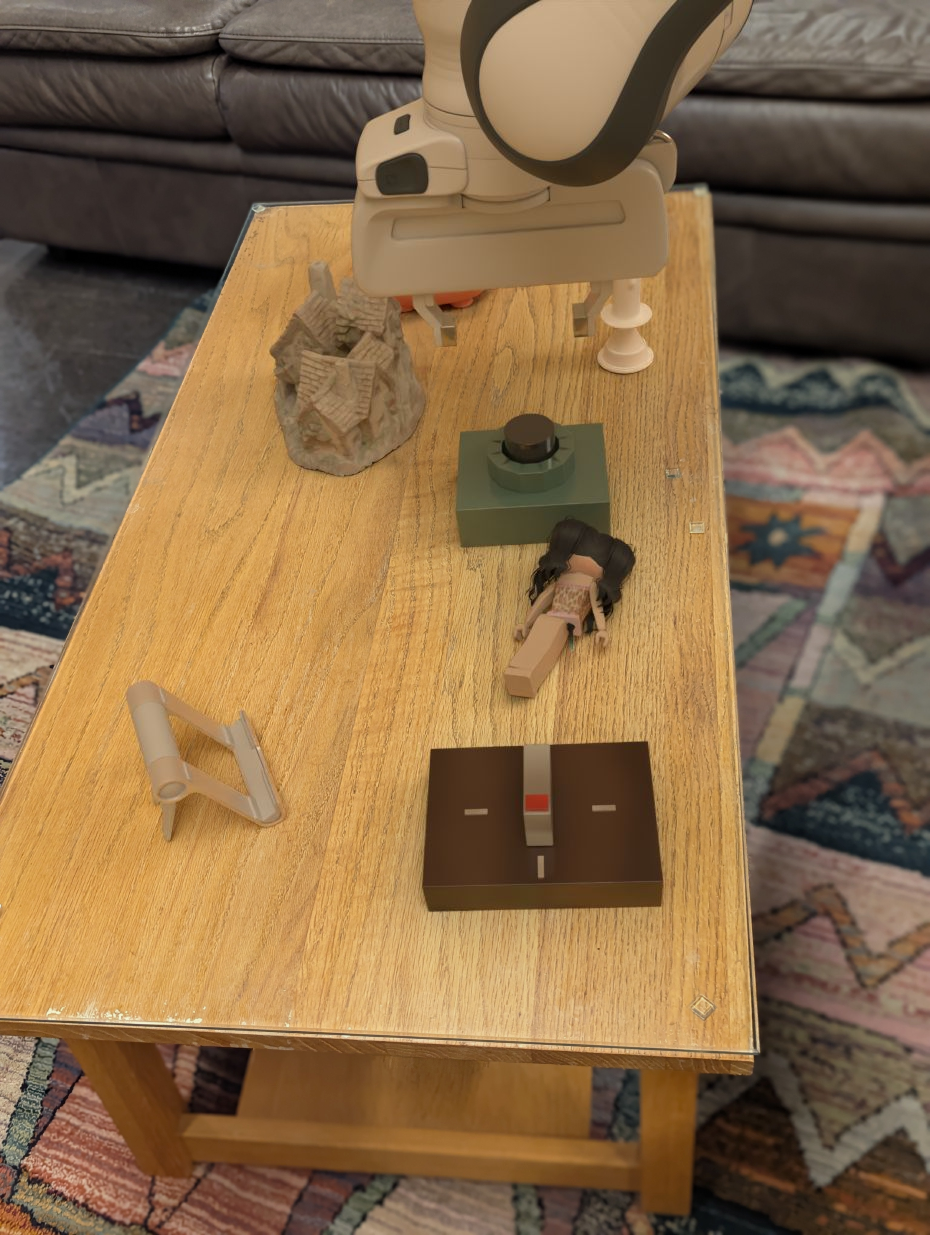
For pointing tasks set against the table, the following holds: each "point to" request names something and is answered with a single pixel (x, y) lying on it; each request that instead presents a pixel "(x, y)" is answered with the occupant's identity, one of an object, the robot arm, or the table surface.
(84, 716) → the table surface
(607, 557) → the toy figure
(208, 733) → the tablet stand
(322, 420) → the ceramic cottage
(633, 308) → the candle
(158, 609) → the table surface
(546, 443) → the knob
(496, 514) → the green push button box
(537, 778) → the dial
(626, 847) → the dial panel
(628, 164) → the robot arm
